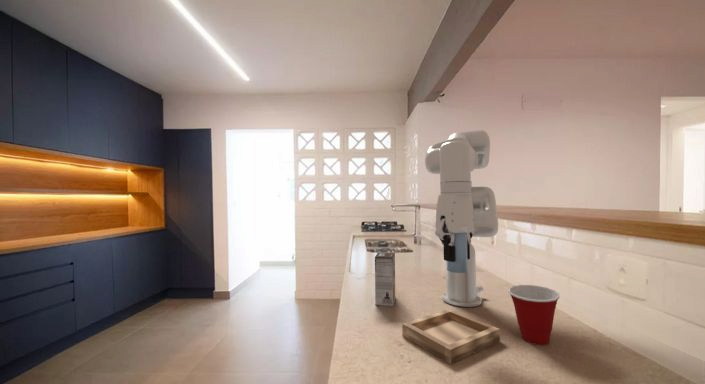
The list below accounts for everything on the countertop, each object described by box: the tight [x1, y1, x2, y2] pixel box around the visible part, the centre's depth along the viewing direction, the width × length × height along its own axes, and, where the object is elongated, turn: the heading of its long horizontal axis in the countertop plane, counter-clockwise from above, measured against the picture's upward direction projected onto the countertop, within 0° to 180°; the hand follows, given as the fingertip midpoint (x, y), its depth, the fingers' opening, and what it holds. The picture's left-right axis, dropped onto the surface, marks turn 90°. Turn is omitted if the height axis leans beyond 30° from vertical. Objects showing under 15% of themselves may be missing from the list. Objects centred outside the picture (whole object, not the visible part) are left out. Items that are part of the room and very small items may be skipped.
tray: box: [401, 308, 501, 365], centre depth 69 cm, size 18×15×3 cm
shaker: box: [447, 226, 468, 273], centre depth 72 cm, size 5×5×12 cm
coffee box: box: [374, 251, 396, 307], centre depth 96 cm, size 9×6×16 cm
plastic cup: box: [507, 284, 560, 346], centre depth 69 cm, size 11×11×12 cm
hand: (456, 259), depth 72 cm, fingers closed on shaker, 5 cm apart
